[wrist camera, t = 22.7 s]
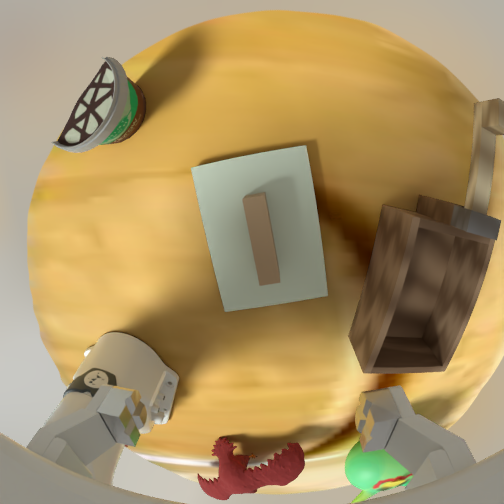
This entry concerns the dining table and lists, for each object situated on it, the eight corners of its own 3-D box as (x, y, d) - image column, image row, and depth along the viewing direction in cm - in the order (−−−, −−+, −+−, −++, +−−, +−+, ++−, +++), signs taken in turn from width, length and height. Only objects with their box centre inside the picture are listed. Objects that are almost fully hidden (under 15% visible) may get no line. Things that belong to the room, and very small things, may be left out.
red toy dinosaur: (194, 448, 58) (217, 498, 49) (167, 453, 50) (192, 509, 42) (289, 408, 51) (321, 468, 43) (267, 414, 44) (303, 484, 35)
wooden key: (477, 220, 24) (501, 229, 20) (462, 216, 24) (487, 225, 20) (488, 111, 21) (513, 108, 16) (473, 103, 21) (498, 98, 16)
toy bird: (425, 406, 45) (450, 455, 31) (404, 449, 50) (419, 493, 36) (346, 422, 47) (359, 481, 33) (335, 462, 51) (342, 512, 37)
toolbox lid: (325, 289, 39) (333, 309, 33) (227, 304, 41) (220, 327, 35) (303, 146, 34) (310, 142, 28) (195, 167, 36) (181, 168, 30)
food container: (121, 169, 36) (79, 173, 26) (93, 147, 35) (49, 146, 25) (172, 94, 32) (141, 73, 23) (140, 74, 32) (104, 53, 22)
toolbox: (421, 339, 40) (457, 389, 28) (348, 336, 41) (372, 396, 28) (462, 207, 34) (521, 227, 21) (385, 186, 34) (439, 198, 21)
